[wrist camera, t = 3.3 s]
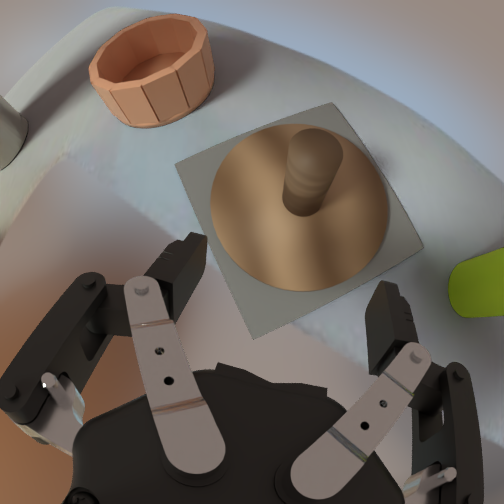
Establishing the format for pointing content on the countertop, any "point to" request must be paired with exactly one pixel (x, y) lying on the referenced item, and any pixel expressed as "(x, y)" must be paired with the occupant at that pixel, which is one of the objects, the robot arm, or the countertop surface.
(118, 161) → the countertop surface
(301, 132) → the lid
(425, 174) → the countertop surface
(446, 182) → the countertop surface
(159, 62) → the bowl
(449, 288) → the soap dispenser
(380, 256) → the mat
